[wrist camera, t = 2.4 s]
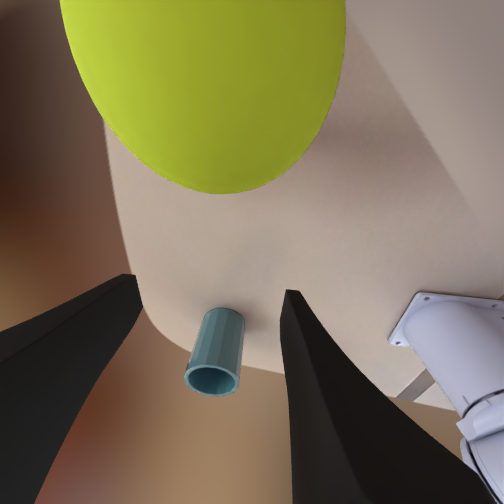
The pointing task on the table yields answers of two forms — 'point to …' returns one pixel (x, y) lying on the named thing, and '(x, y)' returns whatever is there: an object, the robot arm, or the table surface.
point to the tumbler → (217, 354)
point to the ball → (210, 82)
